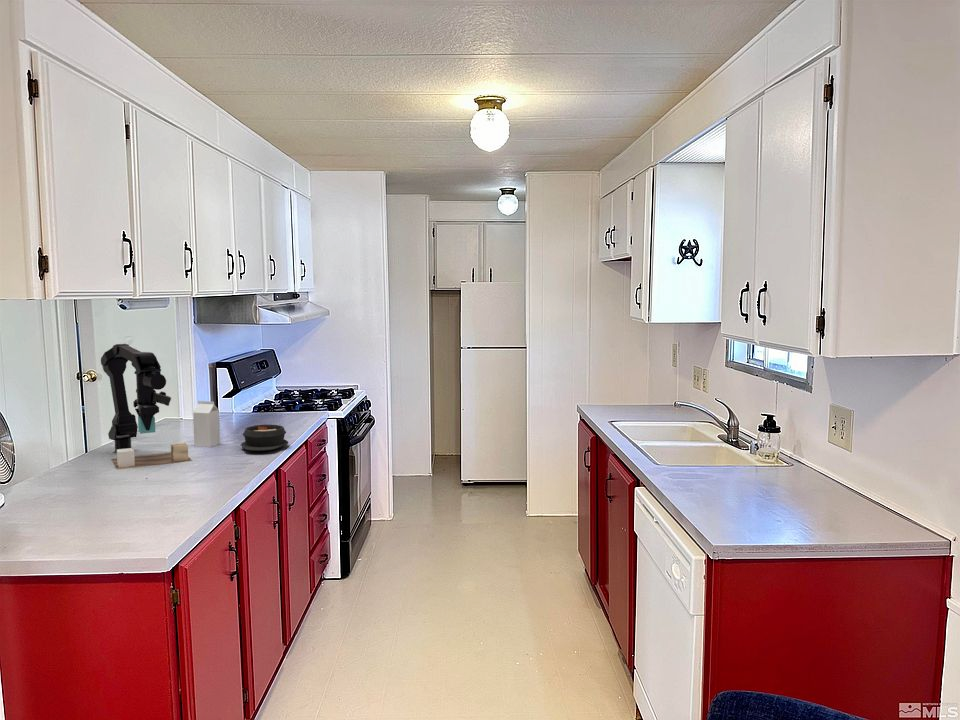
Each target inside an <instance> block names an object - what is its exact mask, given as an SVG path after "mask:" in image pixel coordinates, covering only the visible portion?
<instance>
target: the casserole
mask: <svg viewBox="0 0 960 720" xmlns="http://www.w3.org/2000/svg"><path fill="white" fill-rule="evenodd" d="M286 433H287V431H286V430H285V428H284V426H283V425H278V424H257V425H250V426H247V427H245V428H244V431H243V433H242V435H243V437H244V440H245V441H243V442H241V444H240V446H241V447H242V448H244V450H246V451H251V452H252V451H253V452H266V451H273V450H277V449H280V448H283V447H284V446H286V445H288V444H289V440H286V439H285V435H286Z"/></svg>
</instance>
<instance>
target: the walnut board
mask: <svg viewBox="0 0 960 720" xmlns="http://www.w3.org/2000/svg"><path fill="white" fill-rule="evenodd" d="M110 460H111V462H112V464H113V466H114V467H115V469H116V470H125V469H134V468H135V469H136V468H142V467H144V468H145V467H151V466H152V467H153V466H160V465H169V464H176V463H177V464H178V463H179V464H180V463H184V462H185V463H186V462H187V463H188V462H193V459H192V458H191V457H189V456H188V460H182V461H173V460H172V459H171V452H162V453H155V454H154V453H153V454H145V455H134V460H135V466H129V467H120V468H119V467H118V465H117V457H116V458H110Z"/></svg>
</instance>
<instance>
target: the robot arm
mask: <svg viewBox="0 0 960 720" xmlns="http://www.w3.org/2000/svg"><path fill="white" fill-rule="evenodd" d="M128 362H131V366H132V367H133V368H134V370H135V371H134V372H133V374H135V378H136V389H135V393H136V399H134V400H133V408H135V409H134V410H135V412H136V415H137V417H139V416H140V417H141V420H142V422H143V424H144V426H145V429H146V430H150V426H151V422H152V417H153V416H154V417H155V415H156V414H158V413H160V406H158V404H161V405H164V406H167V407H169V406H170V403H171V401H172V397H171V396H169V395H167V393H166V392H165V391H160V390H163V388H165V386H166V385H167V379H166V377H165V375H164V374H161V373H162V369H161V368H162V366H161V365H160V362H159V361H158V359H157V356H156V355H155V353H153V352H150V351H140V350H138V349H137V348H134V347H132V346H131V345H129V344H127V343H116V344H114V345H112V347H111V348H110V349H108V350H106V351H104V353H103V354H102V356H101V357H100V365H101V366H102V370H103V372H104V373H105V374H106V375H107V376H108V378H109V381H110V383H109V384H110V388H111V394H112V395H111V396H112V401H113V408H114V416H113V418H112V420H111V427H110V429H109V432H108V433H107V434H108V439H109V440H111V441H114V451H113V453H117V449H127V448H132V439H133V438H137V434H138V422H137V417H136V415H135V414H132V413H131V412H130V409H129V403H128V397H127V391H126V385H125V379H124V373H125V372H126V369H127V363H128ZM157 390H158V391H159V392H158V393H157ZM157 403H158V404H157Z"/></svg>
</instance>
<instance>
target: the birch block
mask: <svg viewBox="0 0 960 720" xmlns="http://www.w3.org/2000/svg"><path fill="white" fill-rule="evenodd" d="M170 453H171V459H172V460H173V461H182V460H188V457H189V445H188V444H187V443H186V442H178V443H170Z"/></svg>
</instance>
